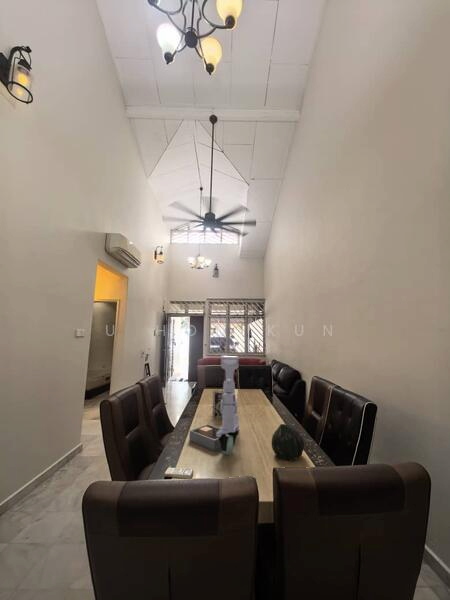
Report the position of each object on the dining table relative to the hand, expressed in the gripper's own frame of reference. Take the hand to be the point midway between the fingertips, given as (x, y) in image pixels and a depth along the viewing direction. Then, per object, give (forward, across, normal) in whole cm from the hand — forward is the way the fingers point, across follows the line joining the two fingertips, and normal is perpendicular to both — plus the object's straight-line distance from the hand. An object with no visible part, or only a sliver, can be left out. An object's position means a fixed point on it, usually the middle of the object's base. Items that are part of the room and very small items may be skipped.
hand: (227, 448), depth 124 cm
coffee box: (+2, +36, +37) cm, 52 cm away
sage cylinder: (+2, 0, 0) cm, 2 cm away
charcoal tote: (+2, +3, +14) cm, 14 cm away
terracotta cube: (+1, +3, +18) cm, 18 cm away
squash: (+2, +16, -23) cm, 28 cm away
